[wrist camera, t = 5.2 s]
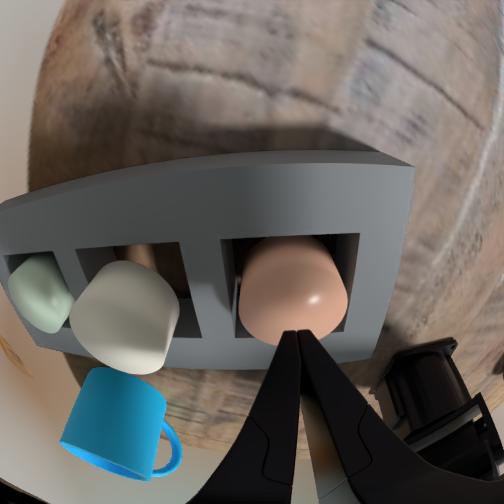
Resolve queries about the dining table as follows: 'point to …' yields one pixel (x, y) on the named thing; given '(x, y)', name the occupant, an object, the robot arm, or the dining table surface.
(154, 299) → the cream button
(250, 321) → the terracotta button
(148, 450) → the mug
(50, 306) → the sage button
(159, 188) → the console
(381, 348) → the dining table surface
